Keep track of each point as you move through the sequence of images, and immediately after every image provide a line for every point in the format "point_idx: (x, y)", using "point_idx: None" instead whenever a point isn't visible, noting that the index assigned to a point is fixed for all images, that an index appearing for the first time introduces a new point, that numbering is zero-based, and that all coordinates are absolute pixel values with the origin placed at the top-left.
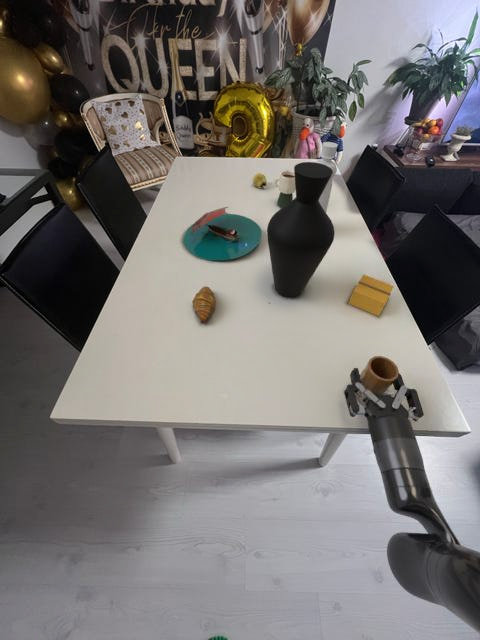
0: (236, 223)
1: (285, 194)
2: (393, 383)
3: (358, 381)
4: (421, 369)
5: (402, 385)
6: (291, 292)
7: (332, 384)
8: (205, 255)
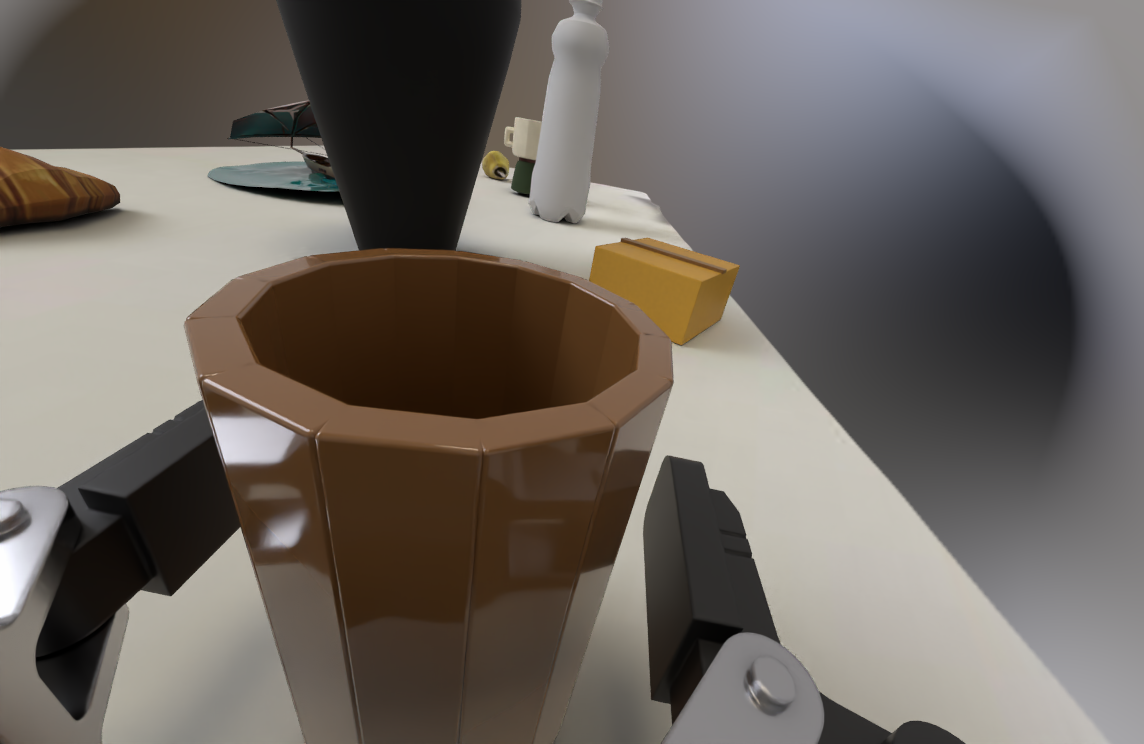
0: None
1: (525, 162)
2: (650, 604)
3: (95, 483)
4: (886, 558)
5: (741, 634)
6: (383, 231)
7: (201, 571)
8: (238, 181)
